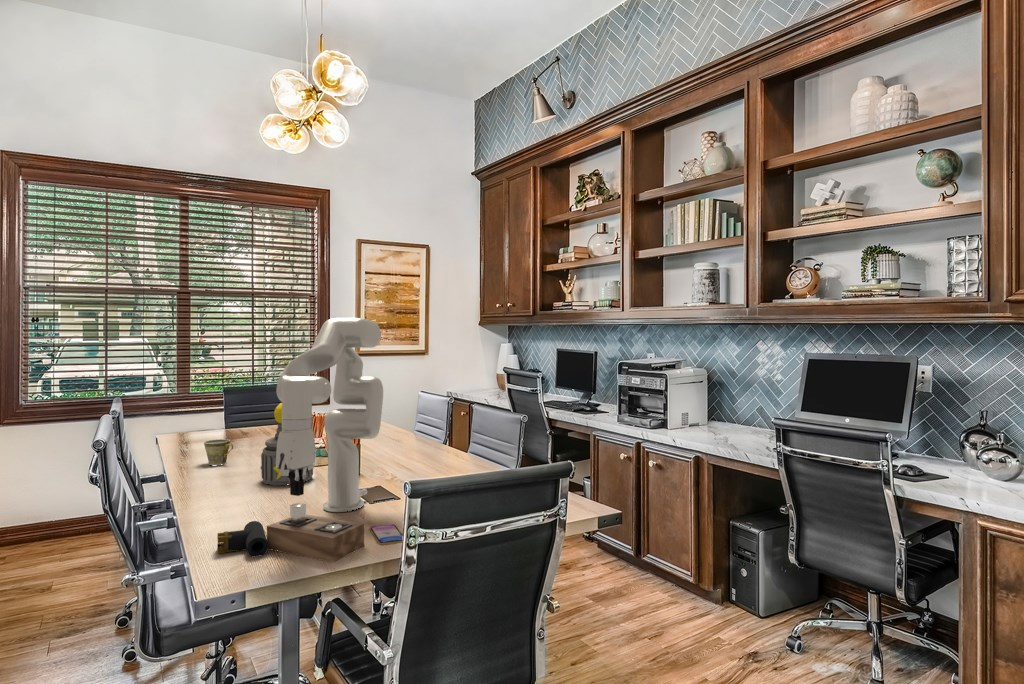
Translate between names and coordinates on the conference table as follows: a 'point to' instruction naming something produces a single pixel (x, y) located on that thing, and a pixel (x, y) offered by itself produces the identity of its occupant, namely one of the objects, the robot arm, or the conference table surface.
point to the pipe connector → (244, 540)
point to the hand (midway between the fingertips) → (296, 494)
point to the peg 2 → (333, 526)
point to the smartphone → (386, 534)
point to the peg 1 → (298, 513)
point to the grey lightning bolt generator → (269, 457)
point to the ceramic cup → (217, 451)
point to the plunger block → (316, 538)
